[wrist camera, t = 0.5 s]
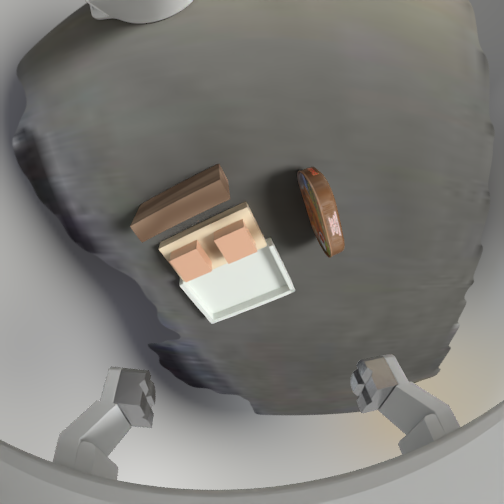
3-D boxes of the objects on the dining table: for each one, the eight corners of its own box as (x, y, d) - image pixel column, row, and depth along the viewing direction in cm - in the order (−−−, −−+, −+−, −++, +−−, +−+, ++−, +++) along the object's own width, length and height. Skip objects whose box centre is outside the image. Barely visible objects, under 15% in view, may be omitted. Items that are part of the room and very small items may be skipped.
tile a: (213, 231, 44) (213, 240, 42) (242, 218, 43) (244, 226, 41) (227, 254, 47) (228, 264, 45) (255, 242, 46) (257, 251, 44)
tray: (180, 276, 51) (179, 285, 49) (270, 237, 48) (273, 244, 46) (211, 315, 58) (211, 323, 56) (292, 283, 55) (295, 291, 53)
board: (160, 242, 46) (158, 249, 44) (246, 201, 44) (247, 206, 42) (184, 274, 51) (183, 281, 49) (265, 239, 48) (267, 245, 47)
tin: (291, 164, 41) (308, 184, 34) (310, 157, 41) (330, 176, 34) (315, 239, 50) (331, 269, 43) (331, 233, 50) (349, 261, 43)
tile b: (170, 252, 45) (169, 261, 43) (196, 239, 44) (196, 248, 42) (186, 272, 48) (185, 282, 46) (211, 261, 47) (212, 271, 45)
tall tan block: (140, 204, 42) (130, 226, 36) (219, 163, 40) (219, 179, 34) (150, 218, 44) (141, 242, 38) (227, 179, 42) (230, 198, 36)
